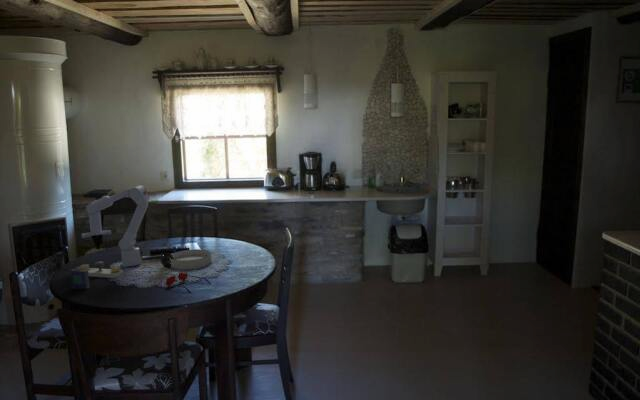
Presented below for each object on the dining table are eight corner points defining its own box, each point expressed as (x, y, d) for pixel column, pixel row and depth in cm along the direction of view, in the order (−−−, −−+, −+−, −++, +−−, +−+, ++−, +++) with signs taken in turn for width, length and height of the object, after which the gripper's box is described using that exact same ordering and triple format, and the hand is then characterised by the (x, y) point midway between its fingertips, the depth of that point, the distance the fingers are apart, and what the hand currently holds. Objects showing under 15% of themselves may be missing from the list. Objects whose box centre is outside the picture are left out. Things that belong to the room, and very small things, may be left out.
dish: (161, 267, 270) (160, 258, 269) (186, 256, 290) (186, 247, 289) (195, 271, 261) (194, 262, 260) (219, 259, 281) (219, 251, 281)
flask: (91, 287, 239) (88, 266, 237) (86, 290, 236) (84, 268, 234) (74, 286, 242) (72, 265, 240) (70, 288, 239) (67, 267, 237)
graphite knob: (103, 268, 261) (102, 260, 261) (104, 270, 258) (104, 262, 257) (95, 269, 259) (94, 262, 259) (96, 271, 256) (95, 264, 255)
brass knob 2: (119, 272, 259) (118, 265, 259) (120, 274, 256) (119, 267, 255) (110, 274, 257) (110, 266, 257) (112, 276, 254) (111, 268, 253)
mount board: (123, 273, 260) (123, 269, 259) (114, 278, 253) (114, 274, 253) (86, 271, 265) (86, 267, 265) (77, 275, 258) (77, 271, 258)
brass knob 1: (89, 270, 264) (88, 263, 263) (90, 272, 260) (89, 265, 260) (80, 272, 262) (80, 264, 261) (81, 274, 258) (80, 266, 258)
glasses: (186, 279, 249) (185, 269, 248) (211, 284, 241) (210, 274, 240) (164, 288, 237) (163, 278, 236) (190, 293, 229) (189, 283, 228)
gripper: (81, 227, 264) (84, 252, 267) (111, 223, 272) (113, 248, 274) (80, 225, 270) (82, 249, 273) (109, 221, 278) (111, 245, 280)
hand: (98, 248), depth 274 cm, fingers closed
